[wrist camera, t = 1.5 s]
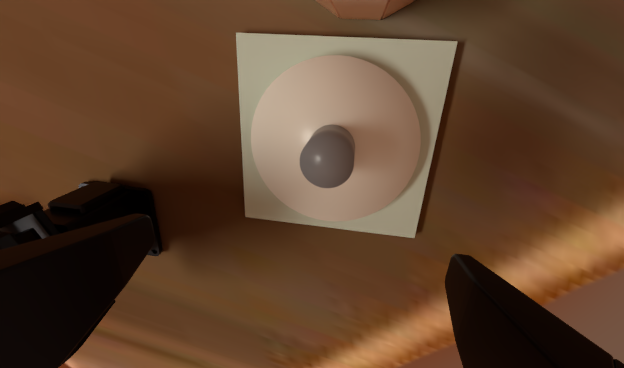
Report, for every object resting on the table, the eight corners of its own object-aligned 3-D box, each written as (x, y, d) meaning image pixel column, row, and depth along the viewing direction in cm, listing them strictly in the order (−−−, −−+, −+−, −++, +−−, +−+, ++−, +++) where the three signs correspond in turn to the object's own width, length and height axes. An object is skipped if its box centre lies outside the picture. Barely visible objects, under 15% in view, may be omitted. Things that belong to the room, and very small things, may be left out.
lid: (402, 224, 21) (411, 258, 17) (257, 207, 22) (236, 235, 19) (434, 59, 17) (455, 58, 13) (251, 51, 18) (223, 48, 14)
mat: (413, 233, 22) (414, 238, 21) (248, 213, 23) (245, 216, 23) (454, 42, 17) (457, 41, 16) (239, 33, 18) (235, 32, 18)
